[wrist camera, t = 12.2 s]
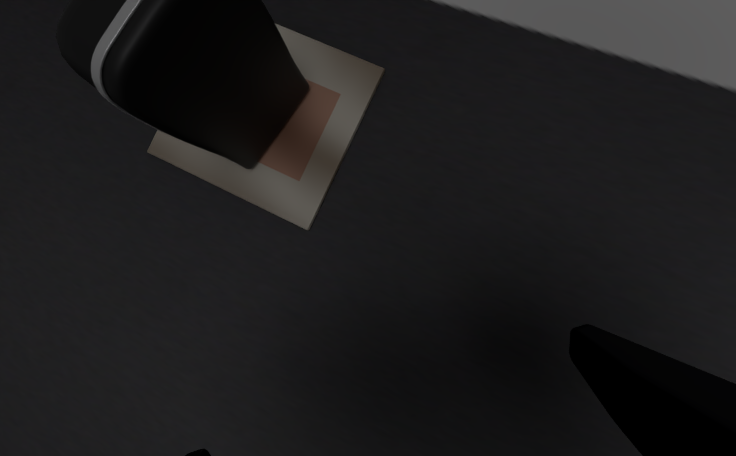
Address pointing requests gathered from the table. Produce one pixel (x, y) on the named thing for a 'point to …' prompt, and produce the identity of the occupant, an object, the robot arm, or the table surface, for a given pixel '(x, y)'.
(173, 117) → the battery charger
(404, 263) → the table surface
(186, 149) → the card
